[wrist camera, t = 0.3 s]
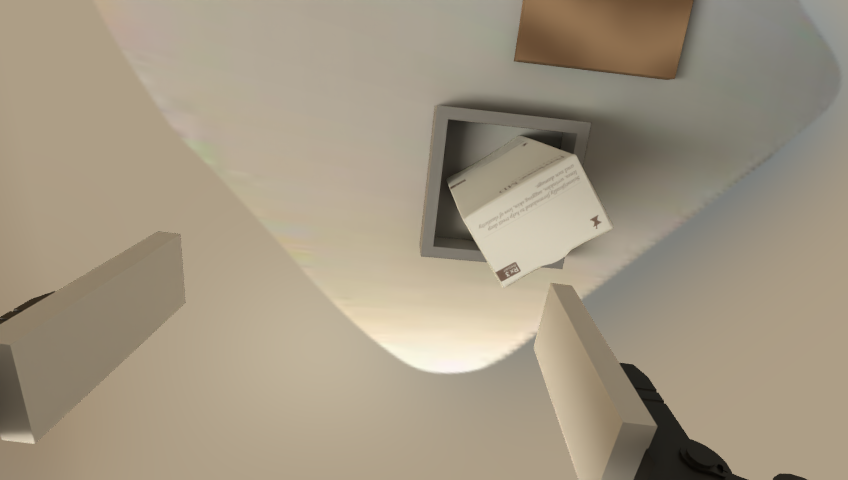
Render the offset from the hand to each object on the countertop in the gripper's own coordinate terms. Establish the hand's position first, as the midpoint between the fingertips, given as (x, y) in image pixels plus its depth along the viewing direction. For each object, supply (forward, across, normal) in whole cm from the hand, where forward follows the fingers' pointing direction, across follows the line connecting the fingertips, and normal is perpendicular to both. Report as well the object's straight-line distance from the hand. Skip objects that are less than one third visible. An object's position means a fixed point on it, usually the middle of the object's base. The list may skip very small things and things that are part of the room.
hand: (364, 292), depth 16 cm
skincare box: (+27, +8, -2) cm, 29 cm away
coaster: (+29, +15, +16) cm, 37 cm away
